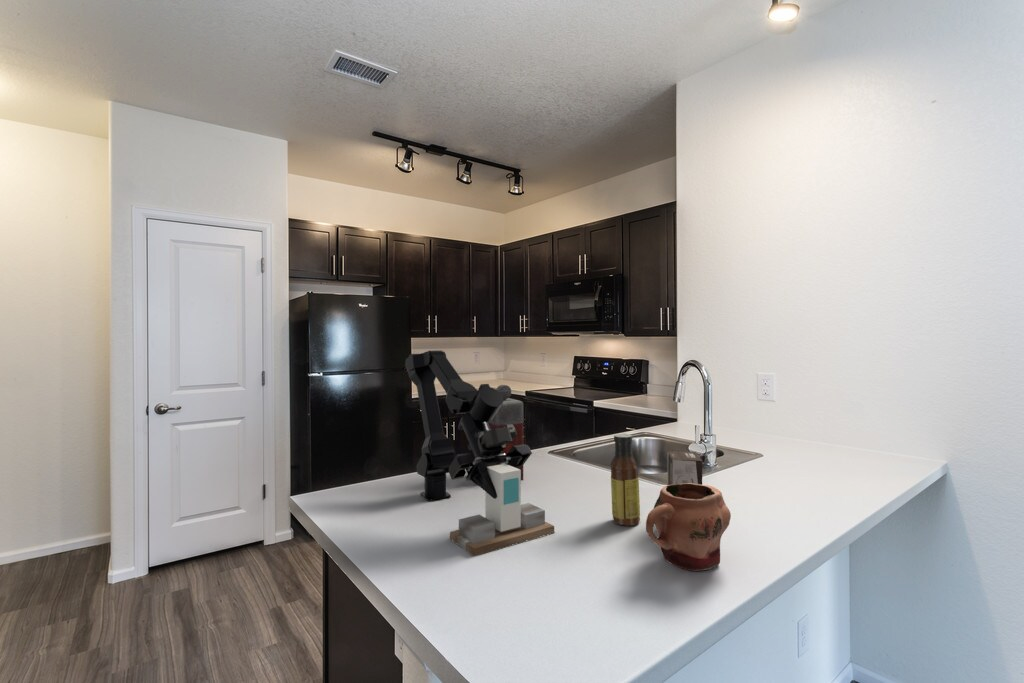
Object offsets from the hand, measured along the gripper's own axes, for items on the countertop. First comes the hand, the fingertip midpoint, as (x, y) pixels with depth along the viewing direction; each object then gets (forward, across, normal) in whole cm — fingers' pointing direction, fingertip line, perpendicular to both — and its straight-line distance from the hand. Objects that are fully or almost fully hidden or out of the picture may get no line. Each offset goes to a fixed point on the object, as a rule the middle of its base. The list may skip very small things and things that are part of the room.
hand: (506, 495), depth 104 cm
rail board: (+5, 0, +7) cm, 9 cm away
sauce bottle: (+12, +27, +1) cm, 30 cm away
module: (+4, 0, +6) cm, 7 cm away
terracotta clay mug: (+27, +21, -14) cm, 37 cm away
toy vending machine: (-20, +24, +34) cm, 46 cm away
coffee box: (+19, +35, -6) cm, 41 cm away
